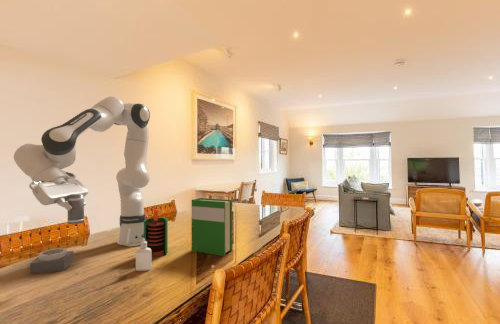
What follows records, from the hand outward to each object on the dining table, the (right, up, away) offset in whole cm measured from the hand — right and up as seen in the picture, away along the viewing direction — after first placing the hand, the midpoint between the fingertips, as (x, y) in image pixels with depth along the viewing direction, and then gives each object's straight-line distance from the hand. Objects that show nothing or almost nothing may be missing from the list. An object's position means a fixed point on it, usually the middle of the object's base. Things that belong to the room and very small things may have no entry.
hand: (77, 207), depth 96 cm
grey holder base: (-16, -25, +9) cm, 31 cm away
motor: (+20, -25, +24) cm, 40 cm away
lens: (-1, -5, 0) cm, 5 cm away
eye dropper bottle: (+22, -25, +6) cm, 34 cm away
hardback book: (+45, -25, +28) cm, 59 cm away
